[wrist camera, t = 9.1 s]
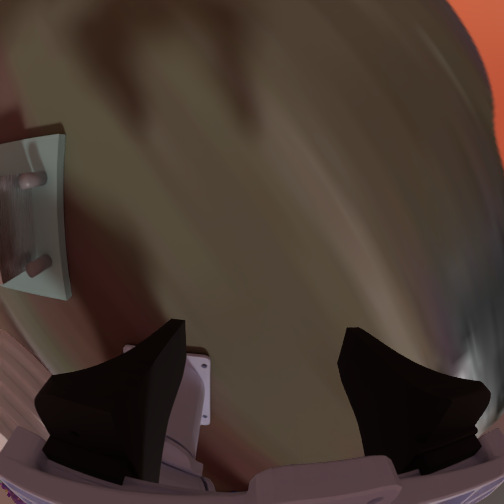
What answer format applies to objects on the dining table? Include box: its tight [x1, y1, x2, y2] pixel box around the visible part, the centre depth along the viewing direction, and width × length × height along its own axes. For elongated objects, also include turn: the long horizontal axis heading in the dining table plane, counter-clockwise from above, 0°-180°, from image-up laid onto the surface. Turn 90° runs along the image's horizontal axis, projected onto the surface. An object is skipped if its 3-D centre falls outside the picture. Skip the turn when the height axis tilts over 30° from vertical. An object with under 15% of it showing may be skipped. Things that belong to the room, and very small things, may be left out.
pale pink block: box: [0, 172, 37, 285], centre depth 17 cm, size 8×4×5 cm, turn 175°
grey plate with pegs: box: [0, 134, 72, 301], centre depth 18 cm, size 14×10×4 cm
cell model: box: [0, 480, 27, 504], centre depth 32 cm, size 17×20×11 cm
